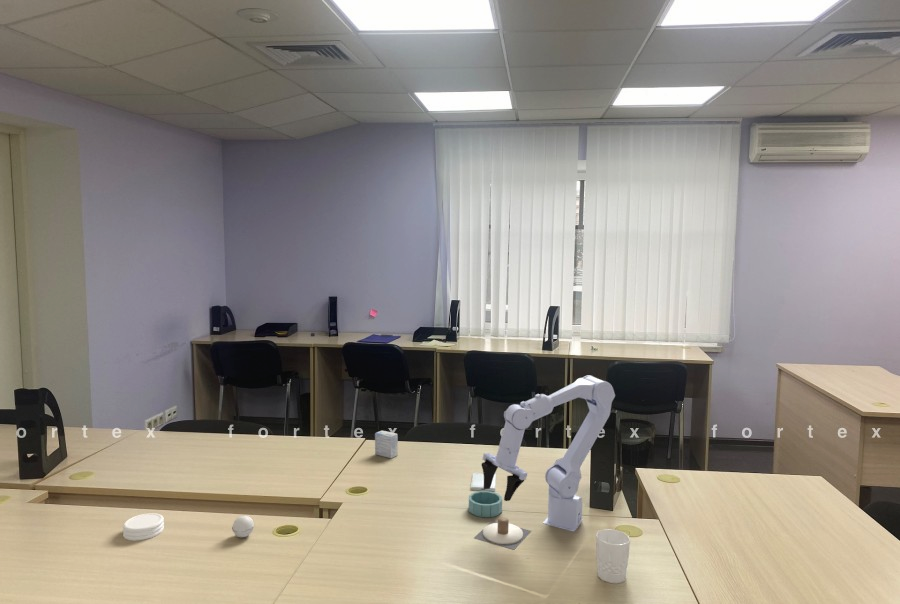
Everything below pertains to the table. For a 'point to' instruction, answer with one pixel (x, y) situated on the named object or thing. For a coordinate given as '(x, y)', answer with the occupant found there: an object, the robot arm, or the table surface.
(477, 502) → the bowl
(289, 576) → the table surface
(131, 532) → the coaster
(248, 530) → the white ball
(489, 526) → the lid
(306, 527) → the table surface
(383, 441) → the medicine box
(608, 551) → the white cup
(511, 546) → the mat
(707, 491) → the table surface
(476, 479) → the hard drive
